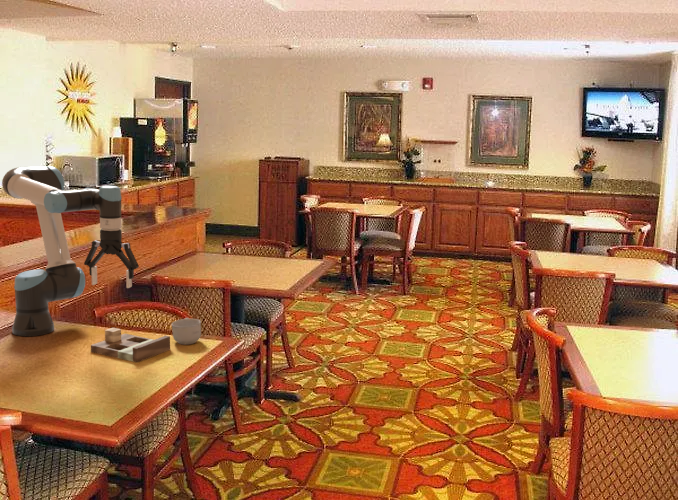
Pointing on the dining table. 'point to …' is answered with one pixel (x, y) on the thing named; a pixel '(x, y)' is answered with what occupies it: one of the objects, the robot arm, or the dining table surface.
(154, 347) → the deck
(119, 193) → the robot arm
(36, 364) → the dining table surface
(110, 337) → the block
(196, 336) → the teacup
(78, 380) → the dining table surface
